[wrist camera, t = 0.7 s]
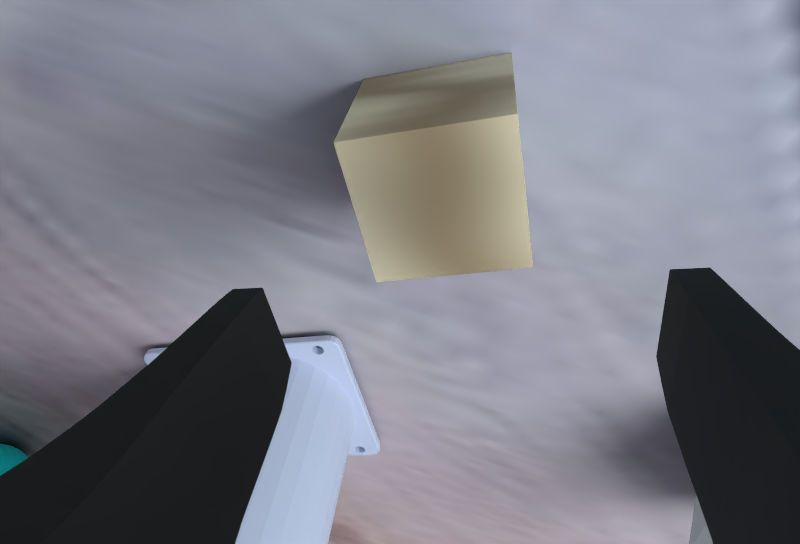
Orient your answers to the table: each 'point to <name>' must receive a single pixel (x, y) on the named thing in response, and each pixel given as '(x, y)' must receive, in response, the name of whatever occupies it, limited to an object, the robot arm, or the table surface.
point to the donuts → (10, 457)
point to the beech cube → (438, 170)
